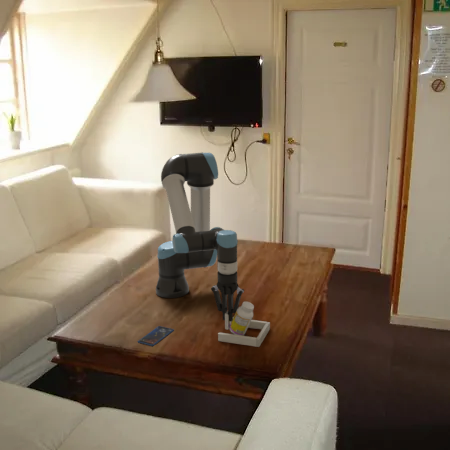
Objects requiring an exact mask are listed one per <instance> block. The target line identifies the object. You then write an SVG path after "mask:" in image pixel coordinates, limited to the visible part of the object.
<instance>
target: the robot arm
mask: <svg viewBox="0 0 450 450" xmlns="http://www.w3.org/2000/svg"><path fill="white" fill-rule="evenodd" d="M218 178H219V169H218V164H217V160H216V158H215V155H214V154H213V153H211V152H202V151H201V152H193V153H183V154H182V153H178V154H175V155H173V156H171V157H170V158H169V159H168V160H167V161H166V162H165V163H164V166H163V167H162V169H161V174H160V180H161V181H160V182H161V186H162V188H164V190H165V192H166V196H167V201H168V204H169V208H170V209H169V210H170V212H171V217H172V221H173V225H174V229H175V234H173V235H172V238H171V239H172V240H169V241H166V242H163V243H162V244H160V245H159V246H158V247H157V263H158V264H157V265H158V279H157V283H156V286H155V294H156V295H157V296H159V297H161V298H163V299H164V298H166V299H174V298H175V299H177V298H180V297H181V298H182V297H184V296H186V295H187V294H188V293H189V292H190V287H189V284H188V281H187V279H186V278H187V277H186V275H185V271H186V270H191V269H200V268H201V269H202V268H207V267H212V266H214V265H215V264H216V262H217V283H216V285H215V284H214V285H213V286H212V287H211V288H210V290H211V292H212V293H213V295H214V300H215V304H216V307H217V311H218V312H222V321H224V329H225V330H230V329H229V327H230V324H231V321H232V320H233V317H234V314H235V313H236V311H237V309H238V308H239V307H240V306H239V305H240V302H241V298H242V295H243V294H244V292H245V289H244V288H240V287H239V283H238V242H239V241H238V234H237V232H236V231H235V230H231V229H230V230H229V229H223V228H222V227H219V226H215V227H213V228H211V187H212V186H214V183H215V181H214V180H217V179H218ZM185 182H186V185H187V186H188V187H189V189H190V204H189V201H188V196H187V193H186V188H185ZM235 292H236V298H235V301H234V294H235ZM220 293H221V296H220Z"/></svg>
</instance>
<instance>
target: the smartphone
mask: <svg viewBox="0 0 450 450" xmlns="http://www.w3.org/2000/svg"><path fill="white" fill-rule="evenodd" d="M174 331H175V329H174V328H170V327H165V326H161V325H158V326H156V327H155V328H154V329H152V330H151V331H150V332H149V333H147V334H146V335H145V336H143V337H142V338H140V339H138V340H137V341H136V342H138V344H142V345H146V346H149V347H155V346H156V345H157V344H159V343H160V342H161V341H162V340H164V339H165V338H167V337H168V336H169V335H171V334H172V333H174Z"/></svg>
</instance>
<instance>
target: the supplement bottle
mask: <svg viewBox="0 0 450 450" xmlns="http://www.w3.org/2000/svg"><path fill="white" fill-rule="evenodd" d="M254 308H255V305H254V304H253V303H251V302H250V301H243V302H242V304H241V306H238V309H237V311H236V313H234V314H233V317H234V318H233V320H232V322H231V324H230V327H229V329H228V330H229V331H230V333H231V334H234V335H241V336H246V333H247V331H248V329H249V328H248V326H249V324H250V322H251V320H253V318H254Z"/></svg>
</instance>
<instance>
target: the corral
mask: <svg viewBox="0 0 450 450" xmlns="http://www.w3.org/2000/svg"><path fill="white" fill-rule="evenodd" d="M233 318H234V316H233ZM231 322H232V321H231ZM248 329H254V330H255V329H257V330H260V332H259V333H258V335H257V337H255V336H253V337H252V336H248V335H243V336H241V335H234V334H233V333H225V332H218V333H217V340H218V342H223V343H230V344H237V345H243V346H250V347H256V348H257V347H258V348H259V347H260V346H261V344H263V341H264V340H265V339H266V337H267V334H268V333H269V332H270V329H271V322H269V321H262V320H256V319H252V320H251V322H250V324H249V326H248Z"/></svg>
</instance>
